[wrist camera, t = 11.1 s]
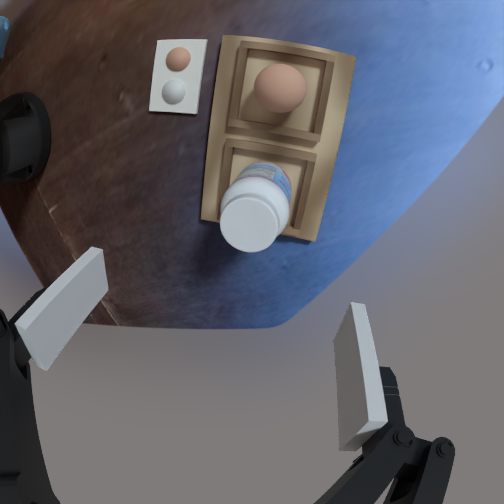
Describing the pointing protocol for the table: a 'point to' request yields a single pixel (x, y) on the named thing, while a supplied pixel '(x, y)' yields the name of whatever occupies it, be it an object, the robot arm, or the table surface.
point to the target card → (177, 75)
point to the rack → (277, 125)
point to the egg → (280, 88)
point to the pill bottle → (256, 207)
